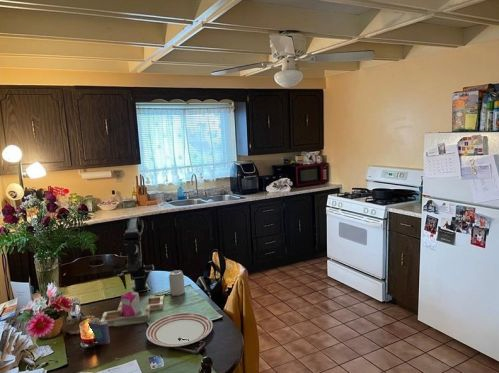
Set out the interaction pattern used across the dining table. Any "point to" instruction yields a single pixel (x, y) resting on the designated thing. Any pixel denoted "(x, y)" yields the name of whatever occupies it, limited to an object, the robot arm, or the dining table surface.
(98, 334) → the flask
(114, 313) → the trap lane
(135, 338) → the dining table surface
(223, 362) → the dining table surface
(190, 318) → the dinner plate
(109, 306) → the dining table surface
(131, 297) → the supplement box
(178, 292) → the can
